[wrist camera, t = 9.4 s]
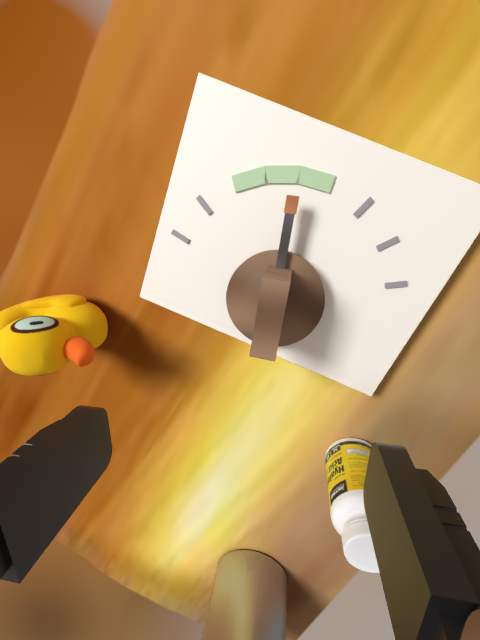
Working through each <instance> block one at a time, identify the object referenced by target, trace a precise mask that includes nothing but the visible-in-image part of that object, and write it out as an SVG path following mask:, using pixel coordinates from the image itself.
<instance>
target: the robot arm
mask: <svg viewBox="0 0 480 640" xmlns="http://www.w3.org/2000/svg"><path fill="white" fill-rule="evenodd" d="M111 455H112V443H111V436H110V429H109V422H108V416H107V412H106V410H105V409H104V408H98V407H90V406H78V407H76V408H75V409H73V410H72V411H71V412H70V413H69V414H68V415H66V416H65V417H64V418H63V419H62V420H58V421H56V422H55V423H53V424H51V425H49V426H47V427H45V428H43V429H41V430H40V431H39V432H37V433H36V434H35V435H34V436H33V437H31V438H30V439H29V440H28V441H27V442H25V445H24V446H23V445H22V446H21V447H20V448H18V449H17V450H16V451H15V452H14V453H12V456H11V457H8V458H6V459H5V460H4V461H3V462H2V463H0V579H2V580H6V581H11V582H15V583H21V581H22V580H23V579H24V577H25V576H26V575H27V573H28V572H29V571H30V569H31V568H32V566H33V565H34V564H35V563H36V561H37V560H38V558H39V557H40V556H41V555H42V553H43V552H44V550H45V549H46V548H47V547H48V545H49V544H50V542H51V541H52V540H53V539H54V537H55V536H56V535H57V533H58V532H59V531H60V529H61V528H62V527H63V525H64V524H65V523H66V521H67V520H68V519H69V517H70V516H71V515H72V513H73V512H74V511H75V509H76V508H77V507H78V505H79V504H80V503H81V501H82V500H83V499H84V497H85V496H86V495H87V493H88V492H89V491H90V489H91V488H92V487H93V485H94V484H95V483H96V482H97V480H98V479H99V478H100V476H101V475H102V474H103V472H104V471H105V469H106V468H107V466H108V464H109V462H110V459H111ZM363 498H364V508H365V513H366V517H367V521H368V526H369V530H370V534H371V538H372V543H373V547H374V551H375V555H376V559H377V564H378V568H379V572H380V576H381V580H382V584H383V589H384V593H385V597H386V601H387V605H388V610H389V614H390V618H391V622H392V627H393V631H394V635H395V639H396V640H480V550H479V548H478V547H477V545H476V543H475V541H474V539H473V538H472V536H471V534H470V532H469V531H467V529H466V525H465V523H464V521H463V520H462V518H461V516H460V514H459V513H457V511H456V507H455V505H454V503H453V501H452V500H451V498H450V496H449V494H448V492H447V491H446V489H445V488H444V486H443V485H442V484H441V483H440V482H439V481H438V480H437V479H436V478H435V477H434V476H433V475H432V474H431V473H430V472H429V471H427V470H423V469H416V468H415V467H414V465H413V463H412V461H411V458H410V456H409V454H408V452H407V450H406V449H405V447H403V446H397V445H389V444H381V443H373V444H372V446H371V450H370V455H369V461H368V466H367V471H366V477H365V482H364V490H363ZM286 603H287V577H286V574H285V572H284V570H283V568H282V567H281V566H280V565H279V564H278V563H277V562H276V561H274V560H273V559H272V558H270V557H268V556H266V555H264V554H262V553H259V552H255V551H251V550H236V551H232V552H229V553H227V554H225V555H224V556H223V557H222V558H221V559H220V561H219V562H218V566H217V570H216V575H215V579H214V583H213V588H212V592H211V597H210V600H209V605H208V609H207V614H206V618H205V622H204V627H203V631H202V636H201V640H286Z"/></svg>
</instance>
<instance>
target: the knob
mask: <svg viewBox="0 0 480 640" xmlns="http://www.w3.org/2000/svg"><path fill="white" fill-rule="evenodd" d="M299 197H300V196H293V195H287V197H286V202H285V208H284V213H285V216H284V222H283V227H282V233H281V239H280V245H279V250H267V251H263V252H260V253H257V254H255V255H253V256H251V257H250V258H248V259H247V260H246V261H244V262H243V263H242V264H241V265H240V266H239V267H238V268H237V269H236V270H235V272H234V273H233V275H232V277H231V279H230V281H229V284H228V287H227V292H226V305H227V310H228V313H229V316H230V318H231V320H232V322H233V324H234V325H235V327H236V328H237V329H238V330H239V331H240V332H241V333H242V334H243V335H244V336H245V337H247V338H248V339H250V340H252V343H251V350H250V356H251V357H256V358H260V359H265V360H270V361H275V359H276V354H277V349H278V347H279V346H287V345H291V344H293V343H296V342H298V341H300V340H302V339H304V338H305V337H306V336H308V335H309V334H310V333H311V332H312V331H313V330H314V329H315V327H316V326H317V325H318V323H319V321H320V319H321V317H322V314H323V311H324V306H325V293H324V288H323V284H322V282H321V279H320V277H319V275H318V273H317V271H316V270H315V269H314V267H313V266H312V265H311V264H310V263H309V262H308V261H307V260H305V259H304V258H303V257H301V256H299V255H297V254H295V253H293V252H290V251H288V248H289V243H290V237H291V232H292V227H293V221H294V216H295V214H296V213H297V207H298V202H299Z"/></svg>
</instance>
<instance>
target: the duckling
mask: <svg viewBox="0 0 480 640" xmlns="http://www.w3.org/2000/svg"><path fill="white" fill-rule="evenodd" d="M107 332H108V324H107V319H106V316H105V315H104V313H103V312H102V311H101V309H100V308H99V307H97V306H96V305H94V304H93V303H90V302H87V300H86V298H85V297H84V296H81V295H71V294H66V295H56V296H49V297H44V298H39V299H35V300H30V301H26V302H23V303H20V304H17V305H15V306H12V307H9V308H7V309H4V310H2V311H1V312H0V357H1V359H2V361H3V363H4V364H5V365H6V366H7V367H8V368H9V369H10V370H11V371H13V372H15V373H18V374H21V375H26V376H40V375H46V374H49V373H52V372H55V371H57V370H59V369H61V368H62V367H63V366H65V365H66V364H67V363H68V362H69V360H70V361H73V362H75V363H76V365H77V366H86V365H88V364H90V363H91V361H92V360H93V358H94V354H95V350H94V349H95V348H97V347H98V346H100V345H101V344H102V343H103V342H104V341H105V339H106V337H107Z"/></svg>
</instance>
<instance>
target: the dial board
mask: <svg viewBox="0 0 480 640" xmlns="http://www.w3.org/2000/svg"><path fill="white" fill-rule="evenodd" d="M287 195H293V196H300V197H299V202H298V207H297V213H296V214H295V216H294V221H293V227H292V232H291V237H290V243H289V248H288V251H290V252H293V253H295V254H297V255H299V256H301V257H303V258H304V259H305V260H307V261H308V262H309V263H310V264H311V265H312V266H313V267H314V269H315V270H316V271H317V273H318V275H319V277H320V279H321V282H322V284H323V288H324V293H325V306H324V311H323V314H322V317H321V319H320V321H319V323H318V325H317V326H316V327H315V329H314V330H313V331H312V332H311V333H310V334H309V335H308V336H306V337H305V338H304V339H302V340H300V341H298V342H296V343H293V344H291V345H287V346H279V347H278V349H277V354H276V356H279V357H281V358H283V359H286V360H288V361H290V362H293V363H295V364H297V365H300V366H302V367H304V368H307V369H309V370H311V371H314V372H316V373H318V374H321V375H323V376H325V377H328V378H330V379H332V380H335V381H337V382H339V383H341V384H344V385H346V386H348V387H351V388H353V389H355V390H358V391H360V392H362V393H365V394H367V395H369V396H372V394H373V393H374V391H375V390H376V388H377V387H378V385H379V384H380V382H381V381H382V379H383V378H384V376H385V374H386V373H387V371H388V370H389V368H390V367H391V365H392V364H393V362H394V361H395V359H396V358H397V356H398V355H399V353H400V352H401V350H402V349H403V347H404V346H405V344H406V343H407V341H408V340H409V338H410V337H411V335H412V334H413V332H414V331H415V329H416V328H417V326H418V325H419V323H420V321H421V320H422V318H423V317H424V315H425V314H426V312H427V311H428V309H429V308H430V306H431V305H432V303H433V302H434V300H435V299H436V297H437V296H438V294H439V293H440V291H441V290H442V288H443V287H444V285H445V284H446V282H447V281H448V279H449V278H450V276H451V275H452V273H453V272H454V270H455V269H456V267H457V265H458V264H459V262H460V261H461V259H462V258H463V256H464V255H465V253H466V252H467V250H468V249H469V247H470V246H471V244H472V243H473V241H474V240H475V238H476V237H477V235H478V234H479V232H480V184H478V183H476V182H473V181H471V180H468V179H466V178H463V177H461V176H458V175H456V174H453V173H451V172H448V171H446V170H443V169H441V168H438V167H435V166H433V165H430V164H428V163H425V162H423V161H420V160H418V159H415V158H413V157H410V156H408V155H405V154H403V153H400V152H398V151H395V150H393V149H390V148H388V147H385V146H383V145H380V144H378V143H375V142H373V141H370V140H368V139H365V138H363V137H360V136H357V135H355V134H352V133H350V132H347V131H345V130H342V129H340V128H337V127H335V126H332V125H330V124H327V123H325V122H322V121H320V120H317V119H315V118H312V117H310V116H307V115H305V114H302V113H300V112H297V111H295V110H292V109H290V108H287V107H285V106H282V105H279V104H277V103H274V102H272V101H269V100H267V99H264V98H262V97H259V96H257V95H254V94H252V93H249V92H247V91H244V90H242V89H239V88H237V87H234V86H232V85H229V84H227V83H224V82H222V81H219V80H217V79H214V78H212V77H209V76H207V75H204V74H201V73H198V77H197V81H196V85H195V89H194V92H193V96H192V100H191V104H190V107H189V111H188V115H187V119H186V123H185V126H184V130H183V134H182V138H181V142H180V145H179V149H178V153H177V157H176V160H175V164H174V168H173V172H172V176H171V179H170V183H169V187H168V191H167V195H166V198H165V202H164V206H163V210H162V213H161V217H160V221H159V225H158V229H157V232H156V236H155V240H154V244H153V248H152V251H151V255H150V259H149V263H148V266H147V270H146V274H145V278H144V282H143V285H142V289H141V293H140V297H141V298H144V299H146V300H148V301H151V302H153V303H155V304H158V305H160V306H162V307H165V308H167V309H169V310H172V311H174V312H176V313H179V314H181V315H183V316H186V317H188V318H190V319H193V320H195V321H197V322H200V323H202V324H204V325H207V326H209V327H211V328H214V329H216V330H218V331H221V332H223V333H225V334H228V335H230V336H232V337H235V338H237V339H239V340H241V341H244V342H246V343H248V344H251V343H252V340H250V339H248V338H247V337H245V336H244V335H243V334H242V333H241V332H240V331H239V330H238V329H237V328H236V327H235V325H234V324H233V322H232V320H231V318H230V316H229V313H228V310H227V305H226V292H227V287H228V284H229V281H230V279H231V277H232V275H233V273H234V272H235V270H236V269H237V268H238V267H239V266H240V265H241V264H242V263H243V262H244V261H246V260H247V259H248V258H250V257H251V256H253V255H255V254H257V253H260V252H263V251H267V250H279V245H280V239H281V233H282V227H283V222H284V216H285V213H284V208H285V202H286V197H287Z"/></svg>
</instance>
